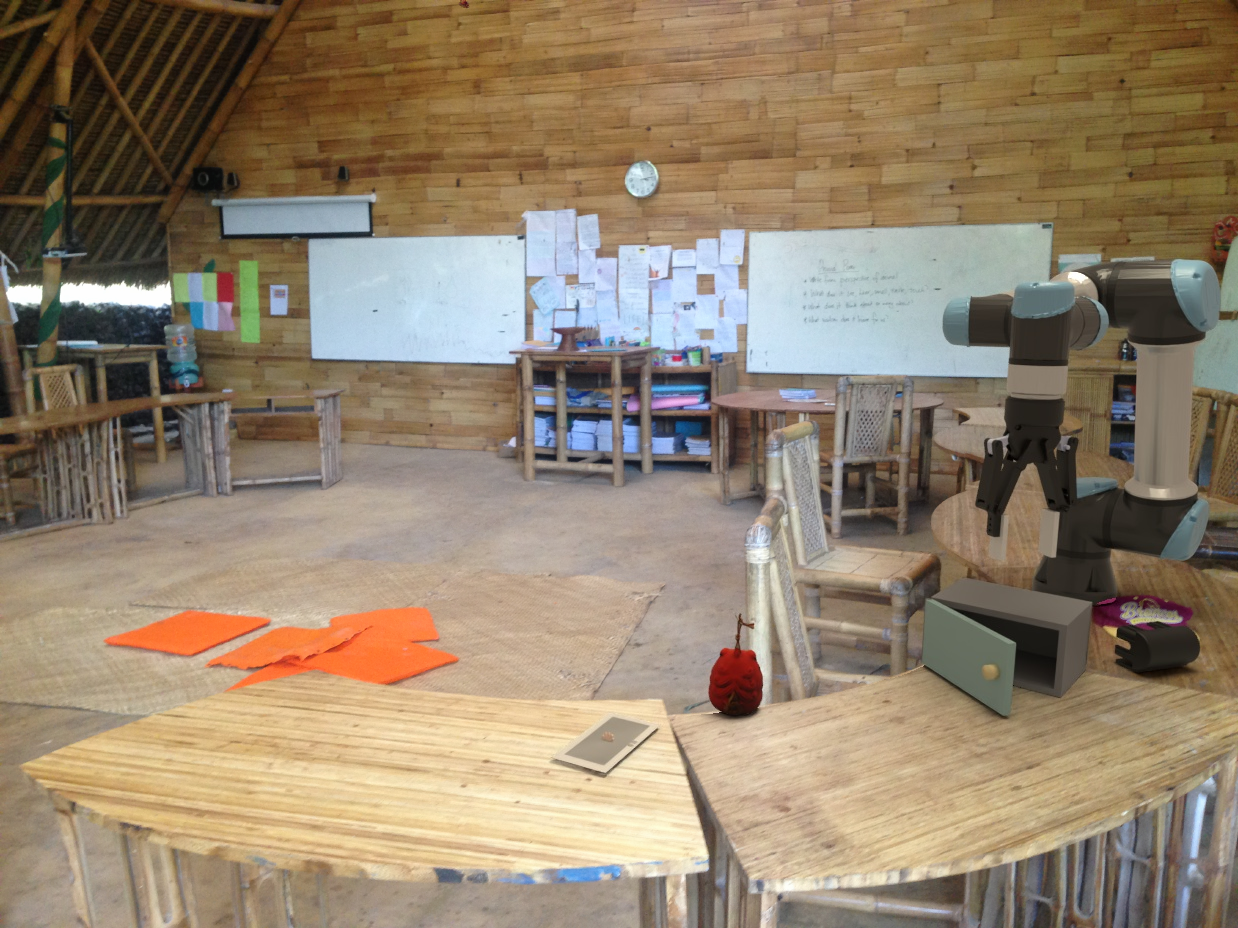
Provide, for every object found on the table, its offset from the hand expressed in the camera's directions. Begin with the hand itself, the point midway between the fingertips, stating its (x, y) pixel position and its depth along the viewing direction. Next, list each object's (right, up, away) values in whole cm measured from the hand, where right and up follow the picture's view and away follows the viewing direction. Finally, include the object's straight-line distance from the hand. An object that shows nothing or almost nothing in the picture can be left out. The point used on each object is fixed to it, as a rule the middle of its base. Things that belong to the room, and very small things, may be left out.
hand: (1022, 556), depth 132 cm
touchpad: (-58, -24, -11) cm, 64 cm away
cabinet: (+4, -19, +15) cm, 25 cm away
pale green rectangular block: (-7, -20, +6) cm, 22 cm away
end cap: (+28, -19, +15) cm, 37 cm away
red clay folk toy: (-41, -22, 0) cm, 46 cm away
